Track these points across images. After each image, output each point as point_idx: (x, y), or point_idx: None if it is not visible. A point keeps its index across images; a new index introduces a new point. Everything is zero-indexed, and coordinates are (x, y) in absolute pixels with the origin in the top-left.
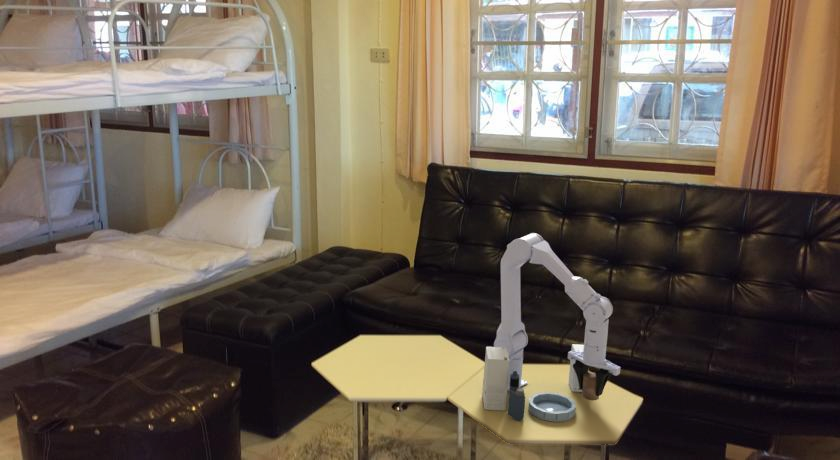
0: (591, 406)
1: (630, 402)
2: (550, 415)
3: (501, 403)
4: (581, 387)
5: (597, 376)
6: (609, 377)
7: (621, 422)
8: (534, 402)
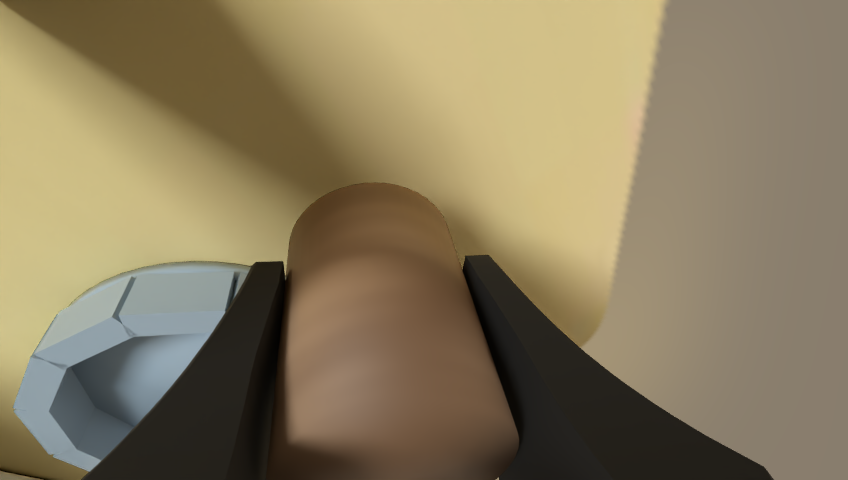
0: (363, 154)
1: None
2: None
3: None
4: None
5: None
6: (653, 404)
7: (624, 208)
8: (87, 404)
